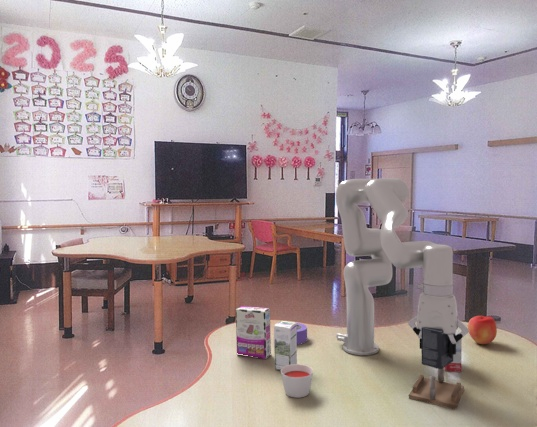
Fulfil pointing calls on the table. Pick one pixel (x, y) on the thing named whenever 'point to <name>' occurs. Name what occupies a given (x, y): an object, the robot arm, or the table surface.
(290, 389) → the candle
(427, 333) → the box
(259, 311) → the candy bar box
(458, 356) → the ink box
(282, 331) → the syrup box
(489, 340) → the apple
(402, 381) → the table surface
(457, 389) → the cradle
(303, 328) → the tape roll
